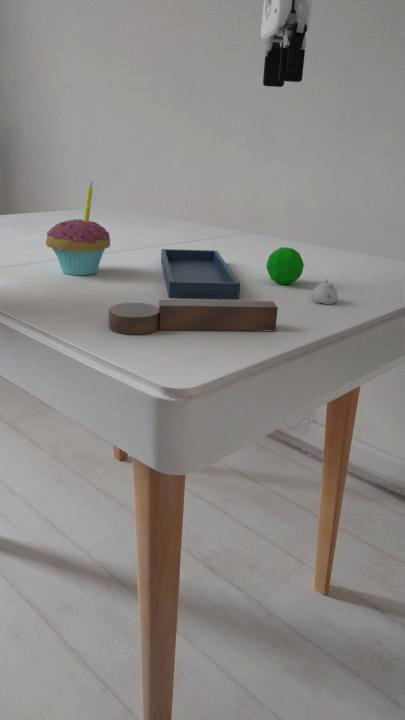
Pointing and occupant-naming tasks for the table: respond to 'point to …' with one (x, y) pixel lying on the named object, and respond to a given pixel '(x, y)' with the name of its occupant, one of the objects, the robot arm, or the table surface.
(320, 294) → the white bumpy lump
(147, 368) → the table surface
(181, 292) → the tray
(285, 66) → the robot arm
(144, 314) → the disc-ended wooden bar
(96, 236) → the cupcake
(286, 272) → the polyhedron
